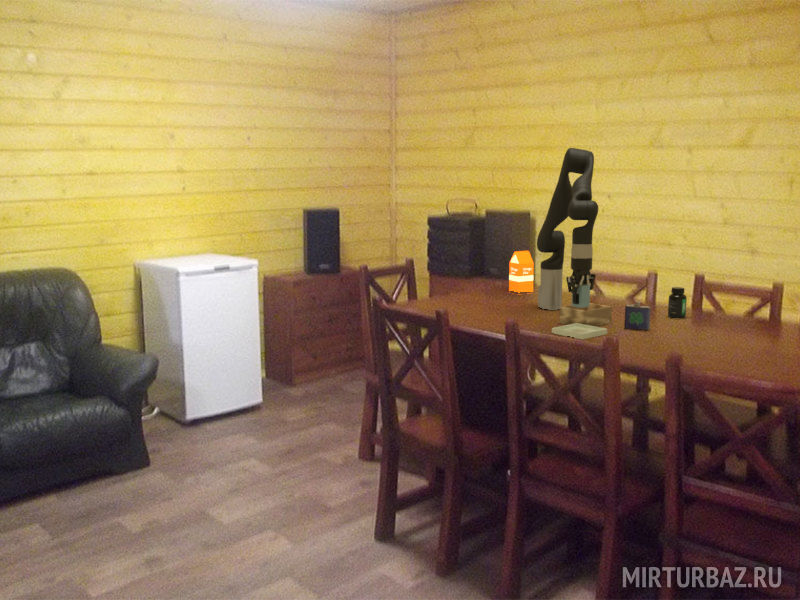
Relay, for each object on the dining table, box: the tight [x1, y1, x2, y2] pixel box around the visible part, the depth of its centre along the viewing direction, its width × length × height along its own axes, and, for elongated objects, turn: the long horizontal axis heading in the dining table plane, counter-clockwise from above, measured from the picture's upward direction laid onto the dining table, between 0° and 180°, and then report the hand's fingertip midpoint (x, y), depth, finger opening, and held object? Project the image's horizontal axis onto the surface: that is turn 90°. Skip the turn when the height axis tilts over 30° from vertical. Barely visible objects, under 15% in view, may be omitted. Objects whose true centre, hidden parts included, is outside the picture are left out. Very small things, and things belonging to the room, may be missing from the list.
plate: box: [551, 323, 608, 340], centre depth 298 cm, size 14×14×2 cm
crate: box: [559, 302, 613, 327], centre depth 316 cm, size 13×16×6 cm
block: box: [571, 284, 591, 308], centre depth 295 cm, size 4×4×8 cm
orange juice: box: [508, 250, 535, 293], centre depth 390 cm, size 8×9×20 cm
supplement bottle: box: [667, 286, 688, 319], centre depth 326 cm, size 7×7×12 cm
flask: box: [623, 301, 652, 332], centre depth 303 cm, size 9×3×11 cm, turn 63°
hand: (580, 302), depth 296 cm, fingers closed on block, 4 cm apart
